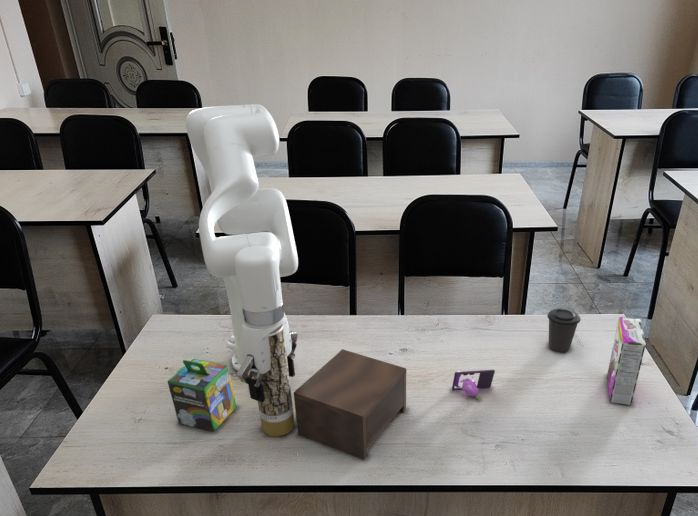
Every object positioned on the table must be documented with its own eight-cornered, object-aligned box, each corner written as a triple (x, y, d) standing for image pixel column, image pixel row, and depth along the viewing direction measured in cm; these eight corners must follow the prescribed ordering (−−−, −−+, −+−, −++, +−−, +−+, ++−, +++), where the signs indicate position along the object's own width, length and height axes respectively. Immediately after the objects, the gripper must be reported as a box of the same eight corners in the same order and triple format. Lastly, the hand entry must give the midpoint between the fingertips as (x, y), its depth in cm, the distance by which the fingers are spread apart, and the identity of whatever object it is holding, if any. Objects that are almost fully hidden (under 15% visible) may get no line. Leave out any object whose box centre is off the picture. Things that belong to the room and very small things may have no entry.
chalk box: (237, 407, 133) (227, 351, 125) (213, 433, 126) (201, 375, 118) (202, 399, 136) (190, 343, 128) (176, 424, 128) (162, 366, 121)
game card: (493, 366, 135) (454, 369, 134) (498, 386, 132) (458, 388, 131) (489, 383, 140) (451, 386, 140) (493, 402, 137) (454, 405, 136)
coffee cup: (550, 335, 160) (555, 302, 154) (580, 345, 156) (586, 311, 150) (537, 349, 154) (542, 314, 149) (567, 359, 150) (573, 324, 145)
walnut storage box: (298, 434, 125) (293, 392, 120) (344, 389, 139) (342, 349, 133) (364, 460, 119) (362, 416, 113) (406, 409, 133) (406, 368, 127)
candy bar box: (605, 375, 144) (618, 315, 136) (627, 378, 143) (641, 318, 135) (608, 403, 135) (622, 341, 126) (631, 406, 134) (647, 344, 125)
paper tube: (288, 440, 124) (275, 336, 111) (257, 435, 125) (240, 332, 112) (299, 419, 130) (288, 318, 117) (269, 415, 131) (255, 315, 118)
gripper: (276, 289, 121) (284, 361, 130) (215, 328, 108) (229, 404, 116) (306, 297, 118) (313, 370, 127) (248, 338, 105) (260, 416, 113)
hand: (273, 386), depth 121 cm, fingers open, 9 cm apart
